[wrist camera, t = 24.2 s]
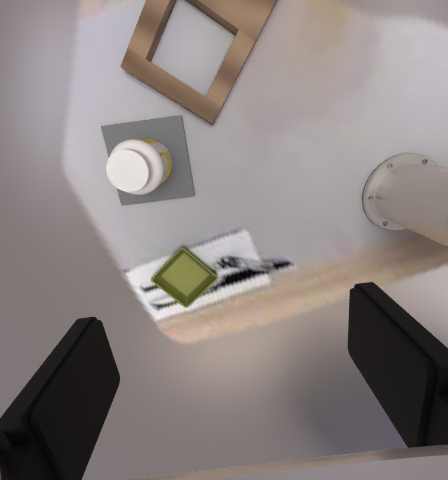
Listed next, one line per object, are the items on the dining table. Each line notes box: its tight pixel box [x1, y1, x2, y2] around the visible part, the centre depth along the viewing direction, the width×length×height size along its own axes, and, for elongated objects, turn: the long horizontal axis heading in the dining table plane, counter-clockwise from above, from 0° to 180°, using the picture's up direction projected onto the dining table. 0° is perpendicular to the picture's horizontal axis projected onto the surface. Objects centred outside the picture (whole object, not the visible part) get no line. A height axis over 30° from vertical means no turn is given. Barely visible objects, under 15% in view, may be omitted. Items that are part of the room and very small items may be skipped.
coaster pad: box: [101, 115, 195, 205], centre depth 42 cm, size 12×12×1 cm
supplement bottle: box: [106, 139, 173, 195], centre depth 36 cm, size 7×7×13 cm
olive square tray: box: [151, 248, 218, 308], centre depth 49 cm, size 9×9×2 cm
